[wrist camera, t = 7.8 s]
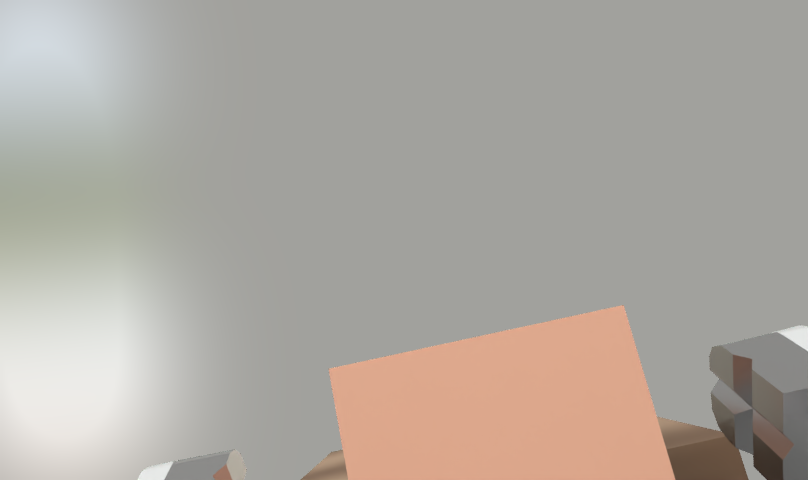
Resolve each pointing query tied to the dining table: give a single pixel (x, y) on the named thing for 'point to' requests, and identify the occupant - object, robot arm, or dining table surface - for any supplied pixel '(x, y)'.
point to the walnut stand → (686, 446)
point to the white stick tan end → (506, 407)
